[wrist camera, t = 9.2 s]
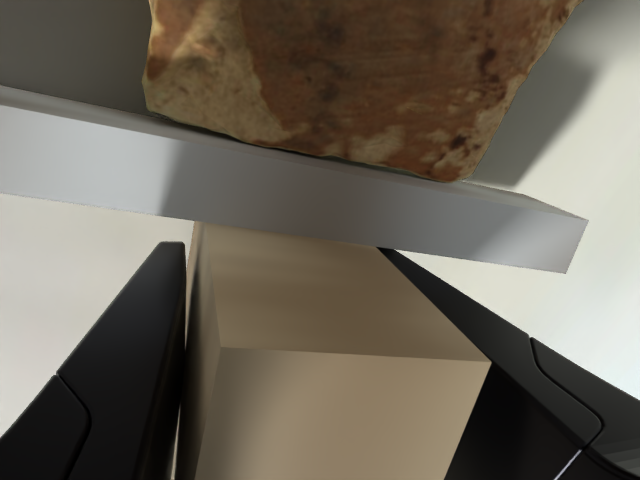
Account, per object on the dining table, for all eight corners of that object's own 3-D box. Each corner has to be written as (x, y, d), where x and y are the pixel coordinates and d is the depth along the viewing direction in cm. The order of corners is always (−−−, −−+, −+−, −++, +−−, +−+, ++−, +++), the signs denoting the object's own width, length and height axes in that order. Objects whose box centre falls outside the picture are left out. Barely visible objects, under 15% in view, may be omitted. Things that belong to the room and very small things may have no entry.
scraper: (-58, 416, 10) (-352, 850, 4) (-63, 68, 8) (-639, 92, 2) (424, 419, 14) (578, 651, 8) (510, 189, 12) (792, 302, 6)
